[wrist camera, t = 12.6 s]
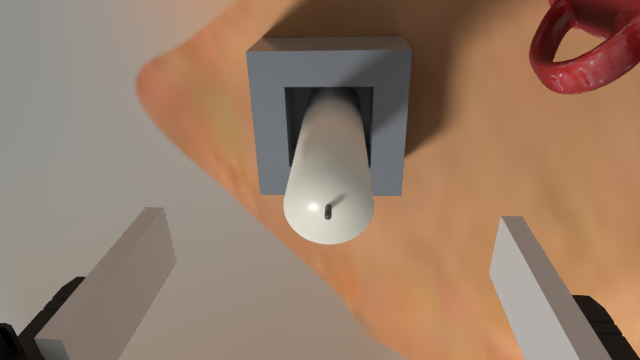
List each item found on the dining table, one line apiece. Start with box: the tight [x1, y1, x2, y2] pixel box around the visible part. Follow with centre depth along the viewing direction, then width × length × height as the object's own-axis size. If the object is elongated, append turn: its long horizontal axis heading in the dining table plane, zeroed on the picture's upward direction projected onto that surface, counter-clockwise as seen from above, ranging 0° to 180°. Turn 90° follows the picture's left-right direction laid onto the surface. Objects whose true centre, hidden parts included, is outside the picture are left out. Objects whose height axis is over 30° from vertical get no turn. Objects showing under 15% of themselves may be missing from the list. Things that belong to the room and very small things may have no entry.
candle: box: [284, 87, 374, 244], centre depth 25 cm, size 4×4×15 cm
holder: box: [246, 36, 412, 196], centre depth 30 cm, size 10×10×5 cm
